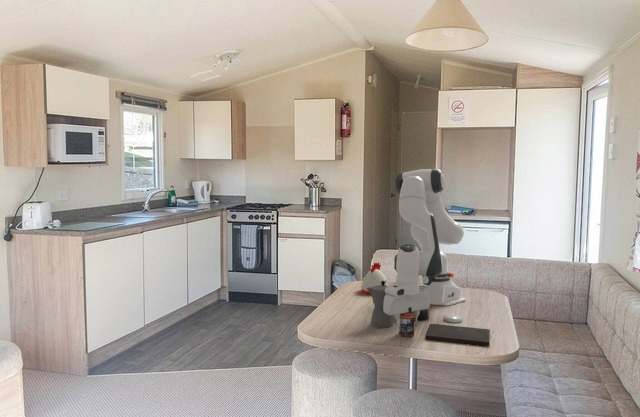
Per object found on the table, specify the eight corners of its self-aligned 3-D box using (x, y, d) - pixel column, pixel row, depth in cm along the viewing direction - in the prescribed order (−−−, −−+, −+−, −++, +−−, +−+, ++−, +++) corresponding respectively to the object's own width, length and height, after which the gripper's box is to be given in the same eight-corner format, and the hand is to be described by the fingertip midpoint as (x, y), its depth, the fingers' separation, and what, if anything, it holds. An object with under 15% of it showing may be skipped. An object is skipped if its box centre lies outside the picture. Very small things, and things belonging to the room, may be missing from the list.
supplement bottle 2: (429, 317, 230) (430, 290, 229) (427, 321, 223) (428, 293, 222) (413, 315, 232) (414, 288, 231) (411, 320, 226) (411, 292, 224)
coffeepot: (365, 326, 216) (366, 282, 214) (366, 320, 225) (367, 277, 224) (404, 328, 214) (405, 284, 212) (403, 321, 223) (404, 279, 222)
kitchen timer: (393, 291, 275) (394, 262, 274) (378, 296, 265) (378, 266, 263) (371, 287, 284) (372, 259, 283) (355, 292, 274) (356, 263, 273)
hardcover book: (429, 328, 216) (429, 323, 216) (489, 335, 209) (489, 329, 209) (424, 341, 201) (425, 335, 200) (489, 348, 194) (489, 342, 193)
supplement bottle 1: (406, 331, 210) (406, 303, 209) (417, 335, 205) (418, 306, 204) (395, 334, 207) (396, 305, 206) (406, 338, 202) (407, 309, 201)
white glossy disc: (453, 316, 232) (453, 313, 232) (467, 321, 225) (467, 318, 225) (439, 318, 228) (439, 316, 228) (452, 323, 221) (452, 321, 221)
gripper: (422, 283, 212) (422, 317, 214) (381, 288, 202) (380, 324, 203) (433, 286, 207) (432, 321, 208) (391, 292, 197) (390, 329, 198)
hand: (406, 323), depth 206 cm, fingers closed on supplement bottle 1, 6 cm apart
